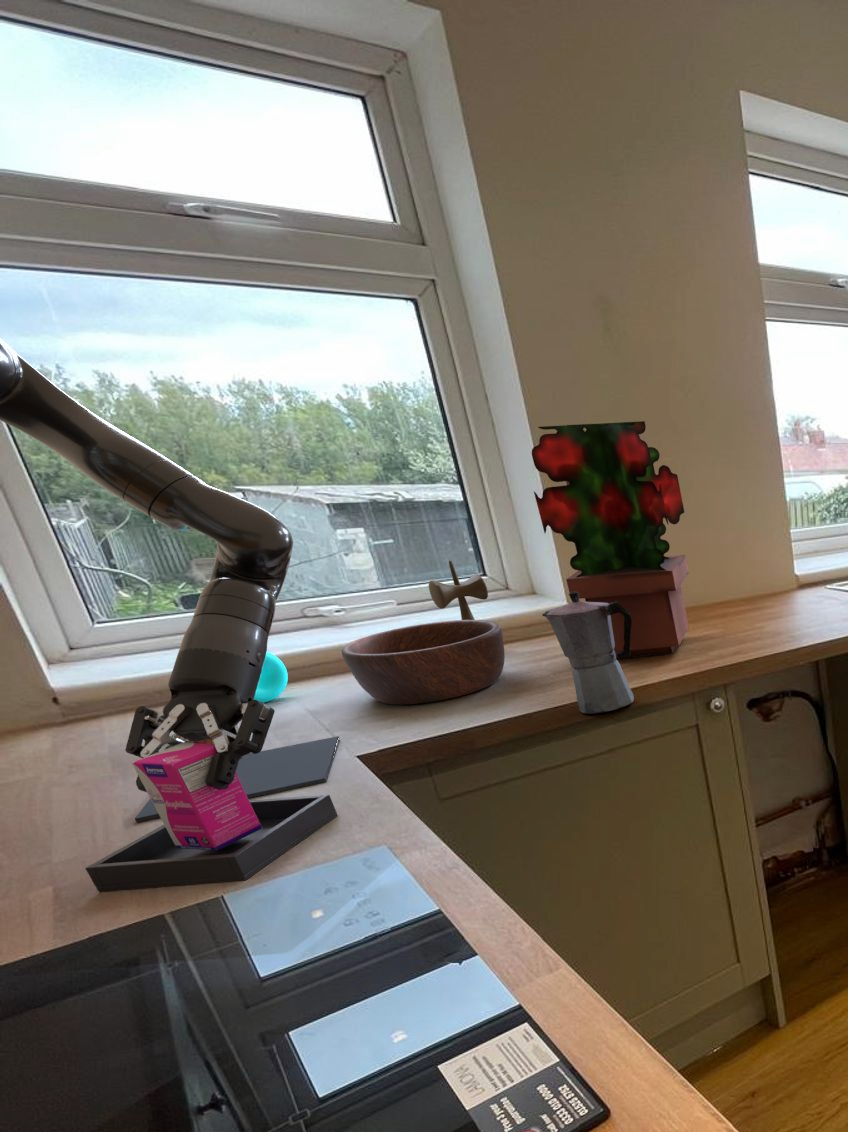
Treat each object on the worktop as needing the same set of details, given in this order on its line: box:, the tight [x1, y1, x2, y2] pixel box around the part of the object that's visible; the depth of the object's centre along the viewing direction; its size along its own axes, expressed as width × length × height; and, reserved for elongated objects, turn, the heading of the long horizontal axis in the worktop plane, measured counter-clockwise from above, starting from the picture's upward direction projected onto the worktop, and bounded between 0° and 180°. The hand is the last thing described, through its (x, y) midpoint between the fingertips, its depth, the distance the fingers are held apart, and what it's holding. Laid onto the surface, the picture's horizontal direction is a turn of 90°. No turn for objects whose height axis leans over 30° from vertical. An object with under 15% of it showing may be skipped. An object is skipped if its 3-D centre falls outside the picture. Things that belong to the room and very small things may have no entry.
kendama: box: [428, 560, 489, 620], centre depth 173 cm, size 6×10×20 cm, turn 142°
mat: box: [134, 736, 340, 823], centre depth 118 cm, size 20×20×1 cm
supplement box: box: [131, 743, 262, 851], centre depth 95 cm, size 6×6×12 cm
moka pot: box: [541, 592, 635, 715], centre depth 137 cm, size 10×15×20 cm, turn 88°
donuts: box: [254, 651, 289, 704], centre depth 150 cm, size 10×10×10 cm
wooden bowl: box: [341, 619, 506, 706], centre depth 152 cm, size 25×25×10 cm
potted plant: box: [531, 420, 690, 660], centre depth 165 cm, size 22×22×45 cm
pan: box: [84, 794, 339, 893], centre depth 97 cm, size 16×16×3 cm
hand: (182, 789), depth 93 cm, fingers closed on supplement box, 6 cm apart
